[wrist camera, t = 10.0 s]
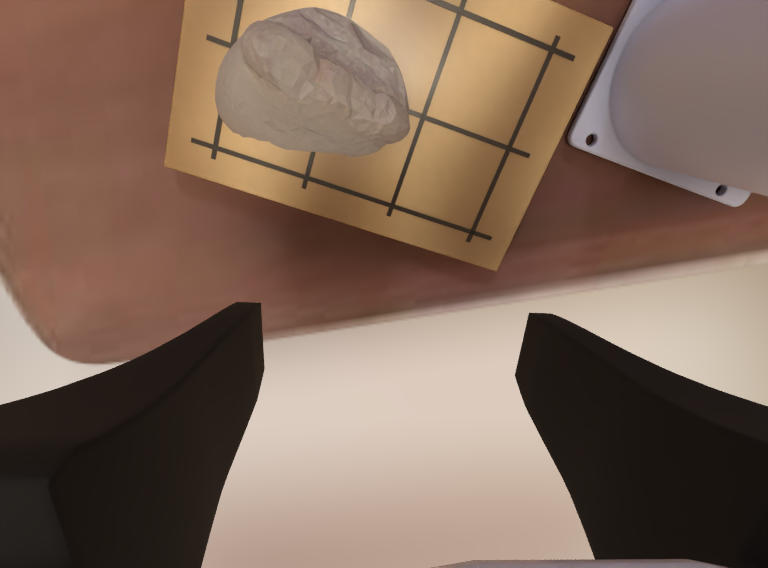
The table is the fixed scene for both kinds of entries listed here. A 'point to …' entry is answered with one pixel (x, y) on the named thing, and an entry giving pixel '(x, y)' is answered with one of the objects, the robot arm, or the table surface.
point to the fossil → (313, 85)
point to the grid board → (426, 115)
